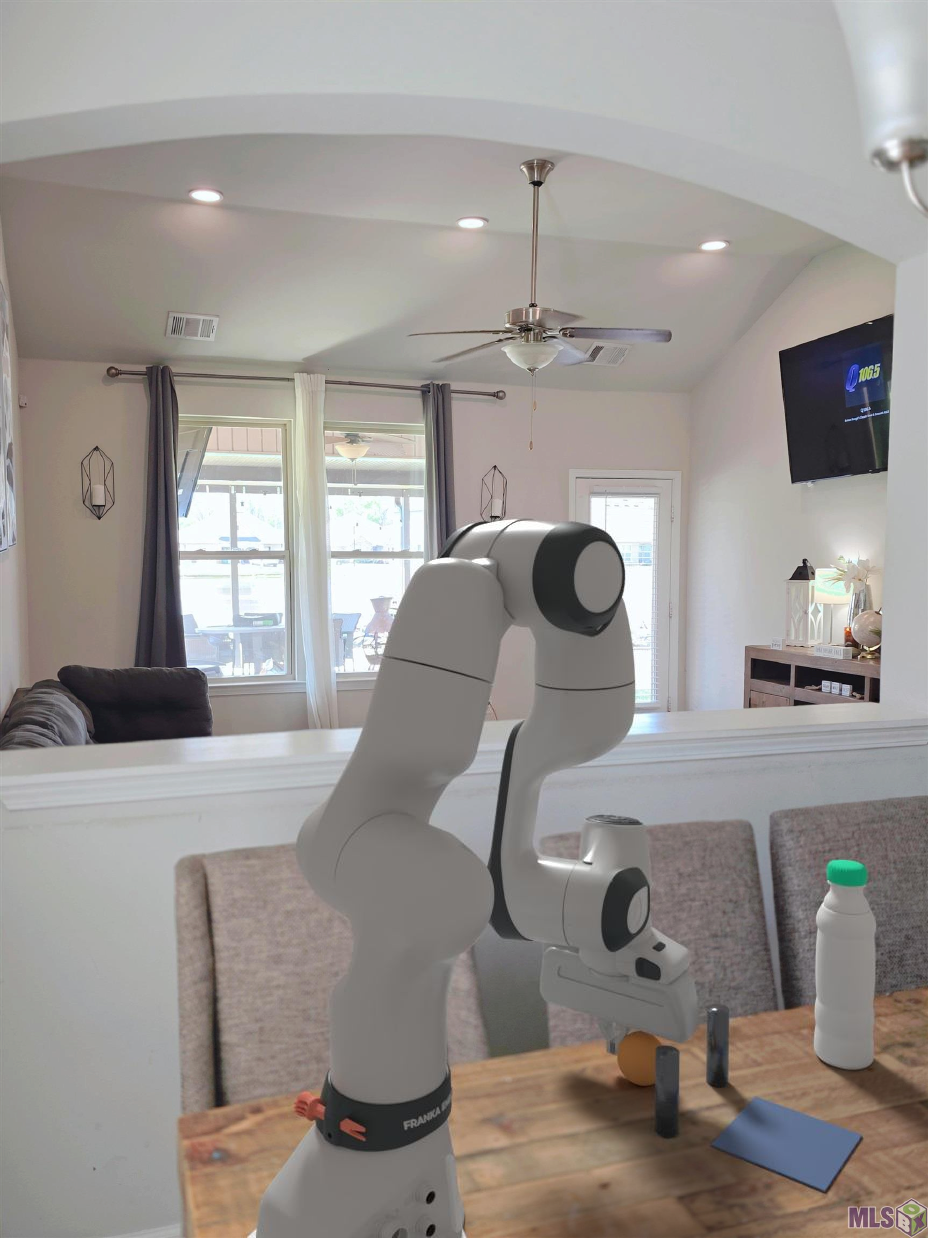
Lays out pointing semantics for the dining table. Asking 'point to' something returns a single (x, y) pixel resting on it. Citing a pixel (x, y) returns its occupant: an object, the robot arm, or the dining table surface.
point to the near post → (667, 1091)
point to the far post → (717, 1045)
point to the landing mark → (788, 1143)
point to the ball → (638, 1057)
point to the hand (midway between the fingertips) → (616, 1053)
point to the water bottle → (845, 970)
